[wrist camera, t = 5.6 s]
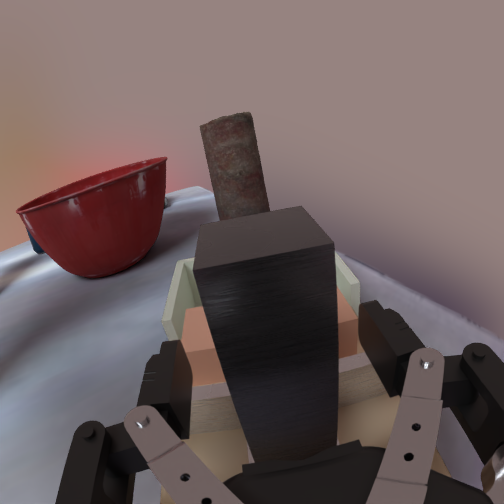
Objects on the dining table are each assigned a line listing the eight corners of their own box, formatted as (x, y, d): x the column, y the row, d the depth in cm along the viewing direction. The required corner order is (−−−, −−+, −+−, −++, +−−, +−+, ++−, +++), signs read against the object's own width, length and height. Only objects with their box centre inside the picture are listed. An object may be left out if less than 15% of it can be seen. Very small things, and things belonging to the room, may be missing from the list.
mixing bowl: (22, 292, 49) (-7, 216, 43) (113, 232, 73) (96, 170, 67) (115, 313, 38) (74, 196, 32) (214, 228, 62) (197, 148, 56)
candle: (239, 267, 44) (210, 118, 36) (218, 252, 50) (190, 123, 42) (286, 249, 47) (264, 109, 39) (260, 236, 53) (238, 113, 45)
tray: (359, 341, 27) (360, 282, 24) (183, 375, 26) (161, 321, 24) (324, 281, 37) (320, 233, 35) (191, 307, 37) (177, 260, 34)
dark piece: (415, 447, 12) (468, 215, 8) (179, 496, 12) (45, 297, 7) (380, 382, 17) (389, 178, 12) (183, 422, 17) (102, 233, 12)
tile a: (268, 374, 20) (261, 339, 19) (193, 386, 20) (179, 353, 19) (259, 329, 24) (253, 296, 23) (196, 340, 24) (186, 309, 23)
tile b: (356, 354, 20) (357, 318, 19) (283, 371, 20) (277, 336, 19) (335, 313, 25) (333, 280, 23) (272, 327, 24) (266, 294, 23)
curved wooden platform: (434, 512, 11) (456, 487, 9) (186, 564, 11) (157, 550, 9) (350, 343, 27) (351, 305, 25) (192, 374, 26) (178, 339, 25)
